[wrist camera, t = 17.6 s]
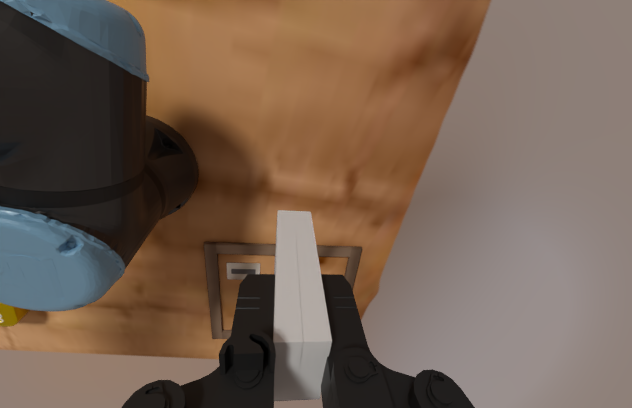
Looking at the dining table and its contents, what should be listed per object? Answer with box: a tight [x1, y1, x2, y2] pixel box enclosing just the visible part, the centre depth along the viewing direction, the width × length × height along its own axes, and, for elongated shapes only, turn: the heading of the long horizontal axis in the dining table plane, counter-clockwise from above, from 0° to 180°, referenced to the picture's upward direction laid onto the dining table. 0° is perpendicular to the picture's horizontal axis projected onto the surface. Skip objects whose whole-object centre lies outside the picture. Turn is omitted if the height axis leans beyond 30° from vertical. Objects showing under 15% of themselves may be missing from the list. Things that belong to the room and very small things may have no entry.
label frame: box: [204, 242, 362, 339], centre depth 57 cm, size 28×25×1 cm
